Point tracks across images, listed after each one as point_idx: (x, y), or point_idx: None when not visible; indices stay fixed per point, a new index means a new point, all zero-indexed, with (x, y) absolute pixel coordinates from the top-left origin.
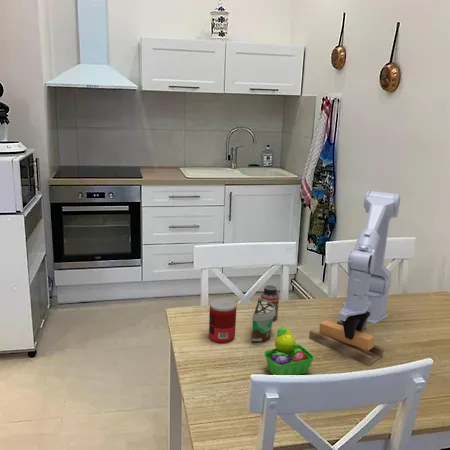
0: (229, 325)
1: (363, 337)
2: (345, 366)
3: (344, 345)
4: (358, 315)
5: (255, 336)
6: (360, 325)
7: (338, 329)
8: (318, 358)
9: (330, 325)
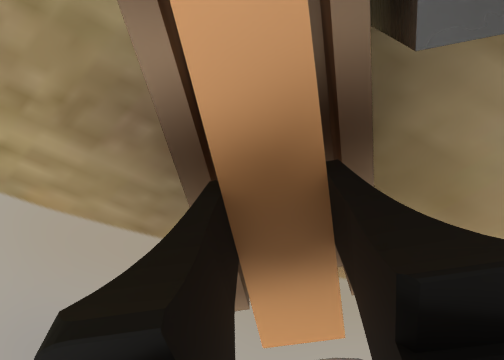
0: None
1: (264, 316)
2: (131, 219)
3: (190, 176)
4: (383, 352)
5: None
6: (352, 283)
7: (201, 115)
8: (20, 97)
9: None
